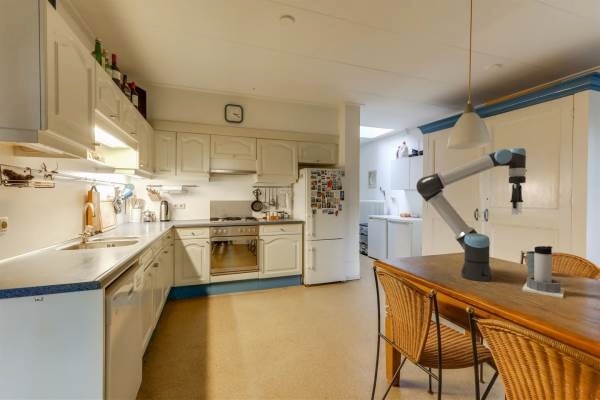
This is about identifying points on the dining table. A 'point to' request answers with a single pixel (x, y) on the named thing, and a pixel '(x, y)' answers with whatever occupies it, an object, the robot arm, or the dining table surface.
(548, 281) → the travel mug
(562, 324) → the dining table surface
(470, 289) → the dining table surface
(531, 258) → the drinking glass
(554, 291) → the cup holder
